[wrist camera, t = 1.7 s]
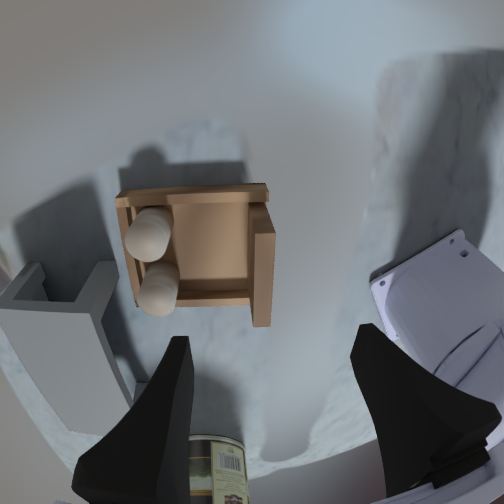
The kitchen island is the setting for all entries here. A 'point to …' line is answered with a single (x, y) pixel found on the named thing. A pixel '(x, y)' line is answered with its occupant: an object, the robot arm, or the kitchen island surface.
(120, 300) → the kitchen island surface
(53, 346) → the shelf
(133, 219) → the tray
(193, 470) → the coffee can
